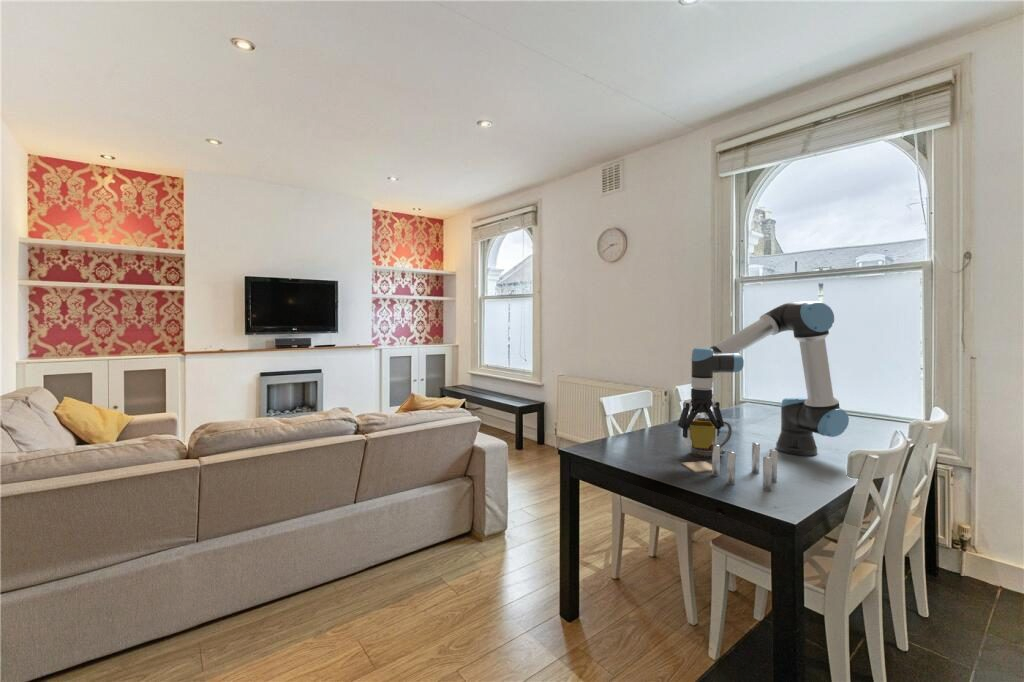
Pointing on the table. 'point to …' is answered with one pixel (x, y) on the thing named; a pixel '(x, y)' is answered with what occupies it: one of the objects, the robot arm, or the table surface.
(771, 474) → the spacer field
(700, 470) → the cork mat
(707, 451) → the mug
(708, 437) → the flower pot
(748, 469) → the table surface
